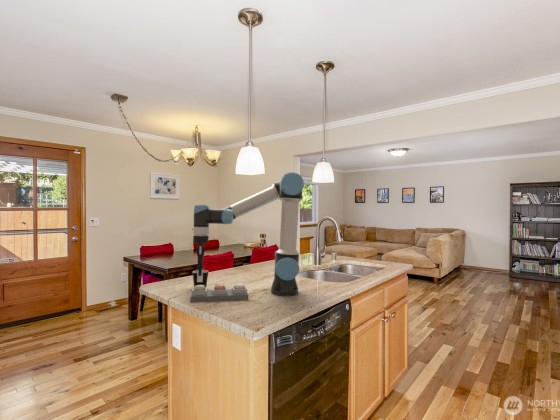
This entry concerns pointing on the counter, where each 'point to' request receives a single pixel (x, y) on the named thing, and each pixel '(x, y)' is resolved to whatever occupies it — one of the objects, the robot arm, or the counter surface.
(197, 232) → the robot arm
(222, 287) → the button terracotta
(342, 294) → the counter surface
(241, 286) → the button cream
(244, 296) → the button panel
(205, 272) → the coffee mug
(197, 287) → the button sage
